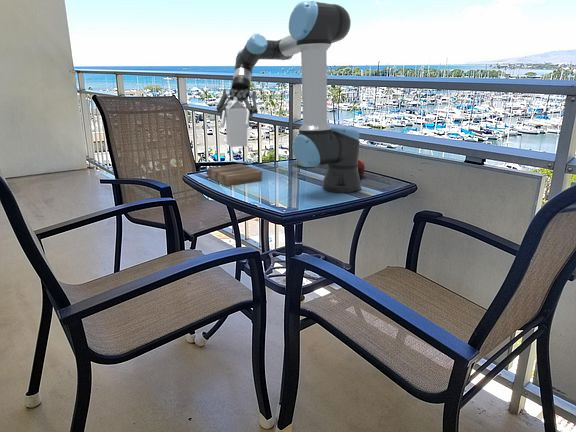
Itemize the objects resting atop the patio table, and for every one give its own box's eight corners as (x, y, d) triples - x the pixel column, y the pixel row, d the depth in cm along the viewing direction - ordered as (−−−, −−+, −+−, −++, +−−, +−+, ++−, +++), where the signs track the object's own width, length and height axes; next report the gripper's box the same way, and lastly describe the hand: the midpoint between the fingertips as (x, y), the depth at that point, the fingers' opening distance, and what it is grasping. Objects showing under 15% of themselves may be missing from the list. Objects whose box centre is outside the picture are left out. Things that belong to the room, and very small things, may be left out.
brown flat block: (262, 180, 174) (261, 171, 173) (227, 186, 165) (227, 176, 164) (239, 171, 189) (239, 162, 188) (206, 176, 181) (206, 167, 179)
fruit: (357, 181, 174) (359, 157, 171) (338, 177, 180) (339, 154, 176) (368, 177, 181) (370, 154, 177) (350, 173, 186) (351, 151, 183)
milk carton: (243, 143, 175) (242, 96, 169) (247, 146, 169) (246, 97, 162) (226, 144, 173) (224, 96, 167) (230, 147, 167) (228, 98, 160)
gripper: (268, 88, 177) (263, 132, 168) (217, 88, 179) (209, 131, 170) (266, 76, 170) (260, 120, 161) (213, 75, 172) (205, 119, 163)
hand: (234, 125), depth 165 cm, fingers closed on milk carton, 9 cm apart
